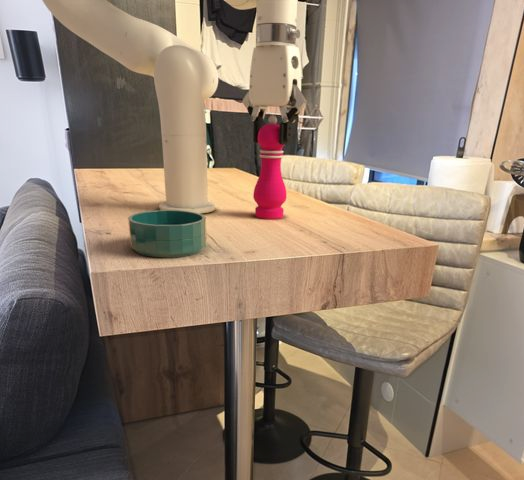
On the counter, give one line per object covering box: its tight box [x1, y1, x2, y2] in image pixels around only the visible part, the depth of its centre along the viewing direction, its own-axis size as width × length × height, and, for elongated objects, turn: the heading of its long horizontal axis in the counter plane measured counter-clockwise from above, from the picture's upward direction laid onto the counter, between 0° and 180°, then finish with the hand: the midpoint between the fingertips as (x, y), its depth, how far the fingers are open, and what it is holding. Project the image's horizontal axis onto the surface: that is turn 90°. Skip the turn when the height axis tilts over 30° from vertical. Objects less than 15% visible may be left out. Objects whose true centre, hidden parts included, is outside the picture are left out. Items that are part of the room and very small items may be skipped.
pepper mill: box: [252, 114, 287, 220], centre depth 96 cm, size 7×7×20 cm
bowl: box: [127, 209, 208, 259], centre depth 74 cm, size 12×12×5 cm
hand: (271, 142), depth 94 cm, fingers closed on pepper mill, 6 cm apart
